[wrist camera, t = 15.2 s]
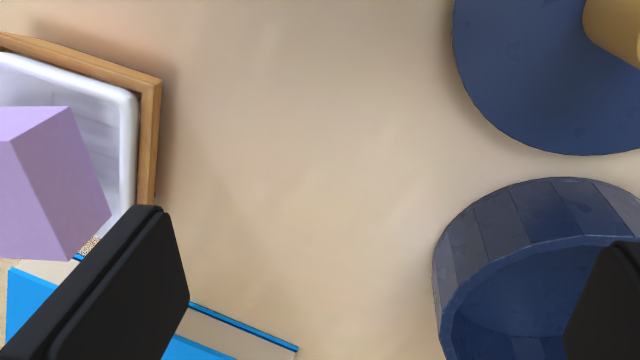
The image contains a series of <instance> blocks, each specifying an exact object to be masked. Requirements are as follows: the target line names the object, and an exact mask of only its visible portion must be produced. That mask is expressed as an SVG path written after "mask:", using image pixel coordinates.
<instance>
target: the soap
mask: <svg viewBox="0 0 640 360" xmlns="http://www.w3.org/2000/svg"><path fill="white" fill-rule="evenodd" d="M111 216H112V213H111V211H110V208H109V206H108V203H107V201H106V198H105V195H104V193H103V190H102V188H101V185H100V183H99V180H98V178H97V175H96V172H95V170H94V167H93V165H92V162H91V160H90V157H89V154H88V152H87V149H86V147H85V144H84V142H83V139H82V136H81V134H80V131H79V129H78V126H77V124H76V121H75V118H74V116H73V113H72V111H71V108H70V106H0V258H12V259H29V260H46V261H63V262H68V261H70V260H71V259H72V257H73V256H74V255H75V254H76V253H77V252H78V251H79V250H80V249H81V248H82V247H83V246H84V245H85V244H86V243H87V242H88V241H89V240H90V239H91V237H92V236H93V235H94V234H95V233H96V232H97V231H98V230H99V229H100V228H101V227H102V226H103V225H104V224H105V223H106V222H107V221H108V220H109V219H110V218H111Z"/></svg>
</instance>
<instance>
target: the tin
mask: <svg viewBox="0 0 640 360" xmlns="http://www.w3.org/2000/svg"><path fill="white" fill-rule="evenodd" d="M617 240H620V241H634V242H640V199H638V198H637V197H635V196H634V195H632V194H631V193H629V192H627V191H625V190H623V189H621V188H619V187H617V186H614V185H611V184H607V183H604V182H601V181H596V180H591V179H585V178H574V177H551V178H543V179H535V180H530V181H526V182H521V183H517V184H514V185H511V186H508V187H505V188H502V189H500V190H498V191H495V192H493V193H491V194H489V195H487V196H485V197H483V198H482V199H480V200H478V201H477V202H475V203H473V204H472V205H471V206H469V207H468V208H467V209H465V210H464V211H463V212H461V213H460V214H459V215H458V216H457V217H456V218H455V219H454V220H453V221H452V222H451V224H450V225H449V226H448V227H447V229H446V230H445V231H444V233H443V235H442V236H441V238H440V240H439V241H438V244H437V246H436V249H435V252H434V256H433V261H432V286H433V295H434V303H435V312H436V320H437V329H438V337H439V341H440V344H441V346H442V349H443V352H444V355H445V358H446V360H568V357H567V355H566V352H565V349H564V346H563V334H564V331H565V328H566V326H567V324H568V322H569V319H570V317H571V315H572V313H573V311H574V308H575V306H576V304H577V302H578V299H579V297H580V295H581V293H582V291H583V288H584V286H585V284H586V282H587V279H588V277H589V275H590V273H591V270H592V268H593V266H594V264H595V262H596V259H597V257H598V255H599V253H600V251H601V249H602V248H604V247H609V246H610V244H611V243H612V242H614V241H617Z"/></svg>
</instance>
